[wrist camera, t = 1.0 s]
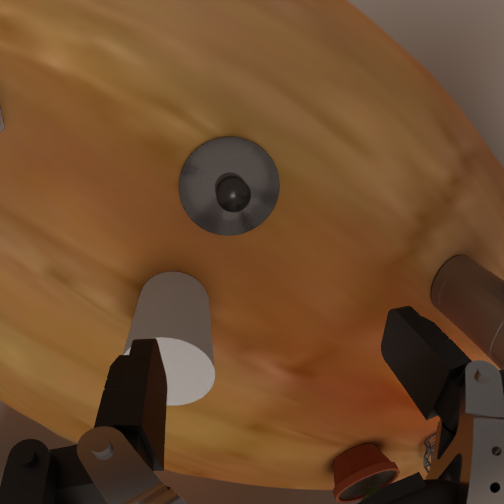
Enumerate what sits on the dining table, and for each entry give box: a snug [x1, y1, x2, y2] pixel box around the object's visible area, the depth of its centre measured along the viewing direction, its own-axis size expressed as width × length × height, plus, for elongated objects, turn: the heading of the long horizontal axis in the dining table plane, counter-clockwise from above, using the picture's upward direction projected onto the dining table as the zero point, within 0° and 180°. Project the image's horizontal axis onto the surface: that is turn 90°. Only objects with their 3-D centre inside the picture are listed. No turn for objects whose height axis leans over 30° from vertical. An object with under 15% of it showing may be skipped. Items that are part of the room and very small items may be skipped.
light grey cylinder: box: [123, 271, 215, 405], centre depth 31 cm, size 8×8×12 cm
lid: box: [179, 137, 280, 235], centre depth 30 cm, size 10×10×5 cm
